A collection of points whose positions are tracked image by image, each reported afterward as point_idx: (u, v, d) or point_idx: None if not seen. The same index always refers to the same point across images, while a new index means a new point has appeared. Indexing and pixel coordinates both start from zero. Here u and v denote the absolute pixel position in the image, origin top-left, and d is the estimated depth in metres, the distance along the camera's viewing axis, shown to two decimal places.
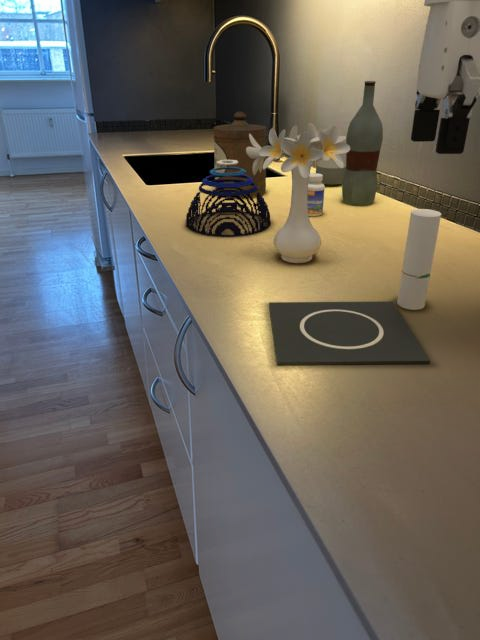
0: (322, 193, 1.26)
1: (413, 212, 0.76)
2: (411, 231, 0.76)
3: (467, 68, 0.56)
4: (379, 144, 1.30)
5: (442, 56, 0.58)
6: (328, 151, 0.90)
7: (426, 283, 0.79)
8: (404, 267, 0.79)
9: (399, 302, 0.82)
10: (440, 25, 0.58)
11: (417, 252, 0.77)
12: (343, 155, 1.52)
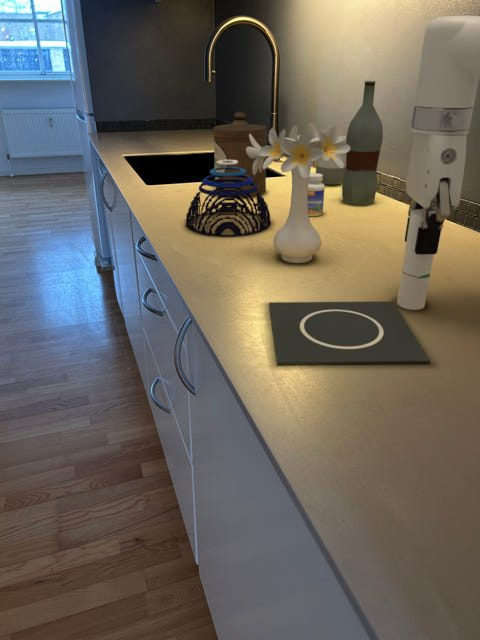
0: (322, 193, 1.26)
1: (413, 212, 0.76)
2: (411, 231, 0.76)
3: (441, 199, 0.69)
4: (379, 144, 1.30)
5: (425, 176, 0.70)
6: (328, 151, 0.90)
7: (426, 283, 0.79)
8: (404, 267, 0.79)
9: (399, 302, 0.82)
10: (424, 150, 0.70)
11: None
12: (343, 155, 1.52)
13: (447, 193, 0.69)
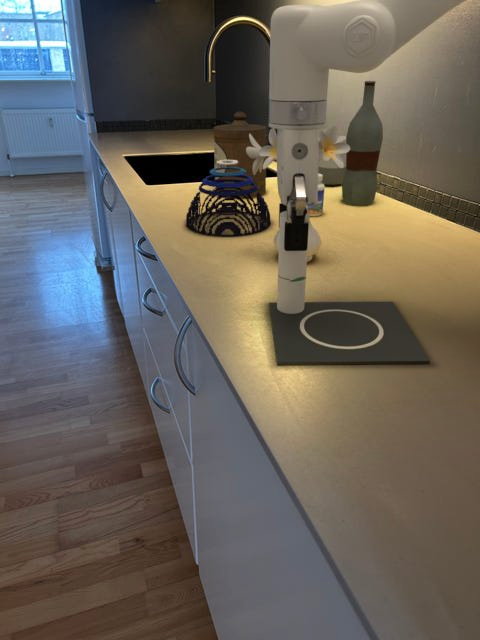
0: (322, 193, 1.26)
1: (282, 213, 0.74)
2: (280, 233, 0.74)
3: (296, 186, 0.65)
4: (379, 144, 1.30)
5: (281, 172, 0.67)
6: (328, 151, 0.90)
7: (300, 286, 0.77)
8: (278, 270, 0.77)
9: (277, 306, 0.80)
10: (279, 145, 0.67)
11: (287, 254, 0.75)
12: (343, 155, 1.52)
13: (303, 182, 0.66)
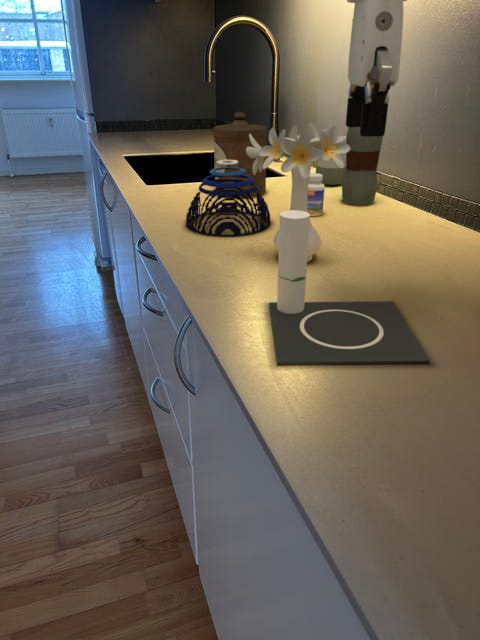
0: (322, 193, 1.26)
1: (282, 213, 0.74)
2: (280, 233, 0.74)
3: (380, 58, 0.62)
4: (379, 144, 1.30)
5: (361, 47, 0.64)
6: (328, 151, 0.90)
7: (300, 286, 0.77)
8: (278, 270, 0.77)
9: (277, 306, 0.80)
10: (359, 19, 0.64)
11: (287, 254, 0.75)
12: (343, 155, 1.52)
13: (386, 54, 0.62)
